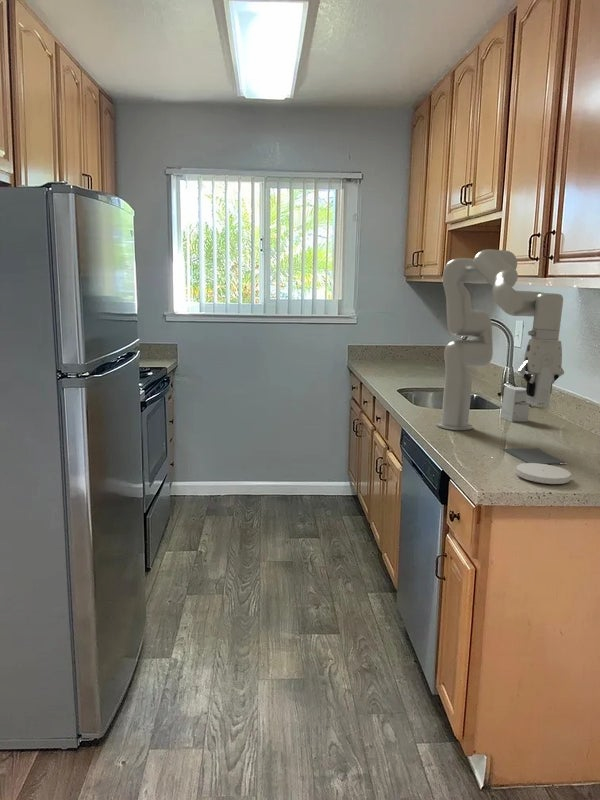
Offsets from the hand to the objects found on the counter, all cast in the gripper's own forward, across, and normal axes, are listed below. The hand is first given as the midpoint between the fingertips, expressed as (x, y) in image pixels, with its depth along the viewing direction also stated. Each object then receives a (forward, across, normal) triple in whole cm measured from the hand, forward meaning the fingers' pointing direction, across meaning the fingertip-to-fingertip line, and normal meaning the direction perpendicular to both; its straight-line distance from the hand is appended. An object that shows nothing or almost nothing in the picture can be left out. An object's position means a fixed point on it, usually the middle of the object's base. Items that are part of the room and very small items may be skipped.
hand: (538, 395), depth 193 cm
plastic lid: (+20, -8, -21) cm, 30 cm away
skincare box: (+3, 0, 0) cm, 3 cm away
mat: (+19, +1, 0) cm, 19 cm away
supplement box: (+20, +20, +52) cm, 59 cm away
